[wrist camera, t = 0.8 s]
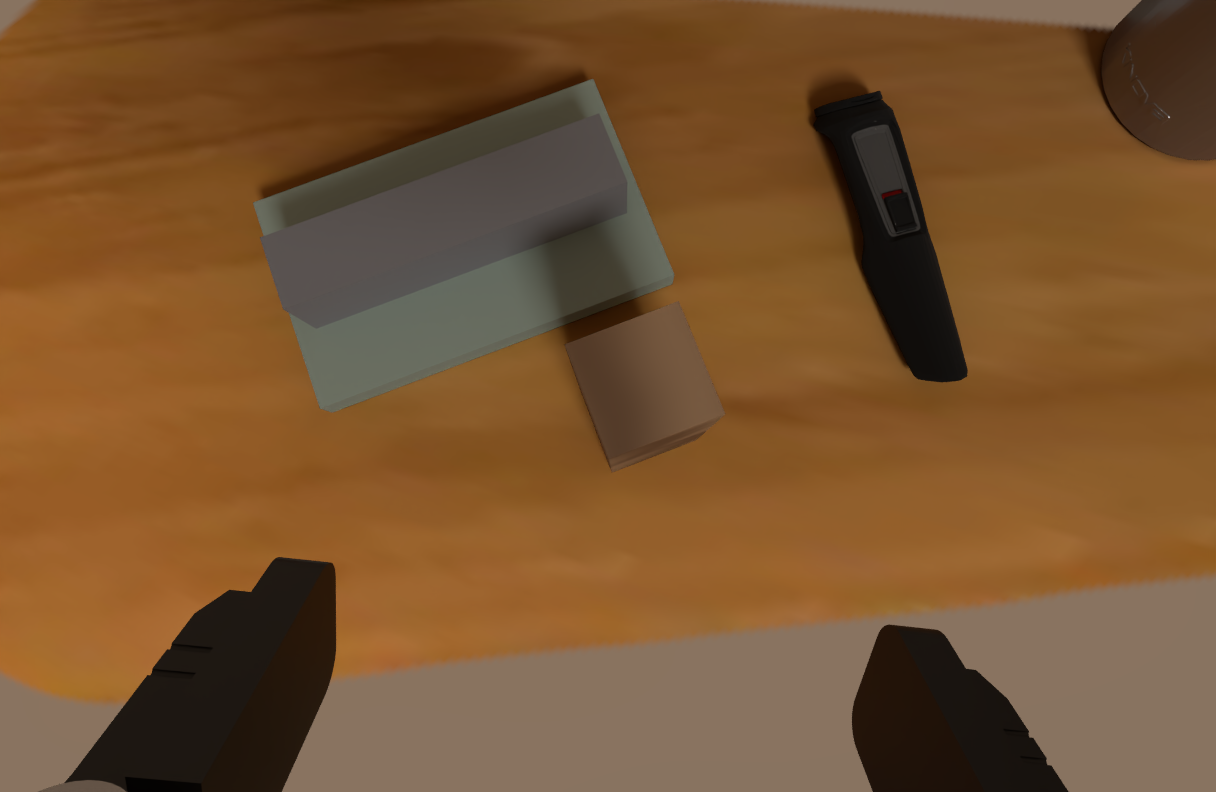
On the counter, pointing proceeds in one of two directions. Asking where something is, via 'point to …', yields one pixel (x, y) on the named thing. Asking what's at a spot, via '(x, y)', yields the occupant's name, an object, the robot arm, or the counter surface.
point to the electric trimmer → (895, 235)
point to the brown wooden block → (645, 386)
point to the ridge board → (481, 292)
